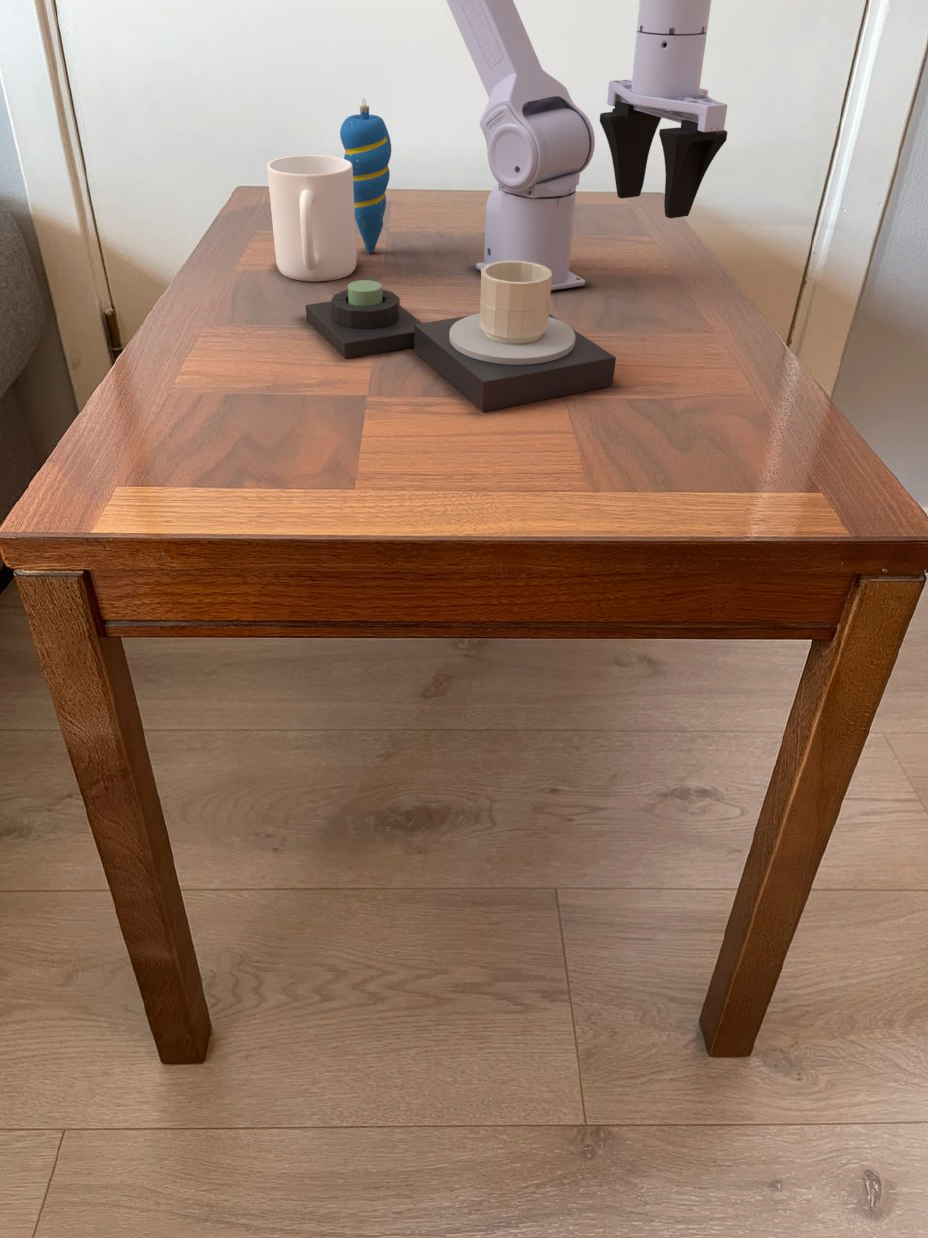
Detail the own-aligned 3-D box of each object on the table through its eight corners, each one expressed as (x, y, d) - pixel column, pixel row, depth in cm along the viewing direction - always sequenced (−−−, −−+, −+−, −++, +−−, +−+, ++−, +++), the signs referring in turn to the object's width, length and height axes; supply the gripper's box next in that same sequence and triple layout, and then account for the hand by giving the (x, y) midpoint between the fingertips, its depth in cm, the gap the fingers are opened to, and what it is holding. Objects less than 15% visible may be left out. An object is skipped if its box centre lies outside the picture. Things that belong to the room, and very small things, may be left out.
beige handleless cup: (468, 324, 82) (470, 264, 79) (529, 317, 83) (533, 257, 80) (495, 349, 77) (498, 286, 74) (558, 340, 79) (563, 278, 76)
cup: (358, 257, 105) (354, 155, 99) (353, 295, 96) (348, 185, 89) (281, 256, 105) (272, 153, 99) (268, 294, 95) (256, 184, 89)
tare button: (343, 299, 87) (342, 282, 86) (374, 295, 88) (374, 278, 87) (355, 310, 85) (355, 293, 84) (387, 305, 86) (387, 288, 85)
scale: (414, 352, 85) (413, 317, 83) (534, 331, 89) (536, 297, 87) (482, 412, 75) (483, 374, 74) (612, 386, 80) (617, 349, 78)
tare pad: (306, 319, 90) (303, 287, 88) (386, 307, 93) (385, 275, 91) (345, 358, 83) (343, 324, 81) (430, 344, 86) (430, 311, 84)
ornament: (357, 261, 104) (349, 104, 95) (339, 248, 107) (330, 95, 98) (401, 255, 106) (398, 101, 97) (382, 242, 109) (377, 92, 100)
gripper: (768, 38, 76) (738, 220, 84) (660, 21, 87) (643, 184, 95) (694, 42, 74) (671, 229, 82) (593, 24, 84) (581, 191, 92)
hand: (652, 206), depth 88 cm, fingers open, 7 cm apart
